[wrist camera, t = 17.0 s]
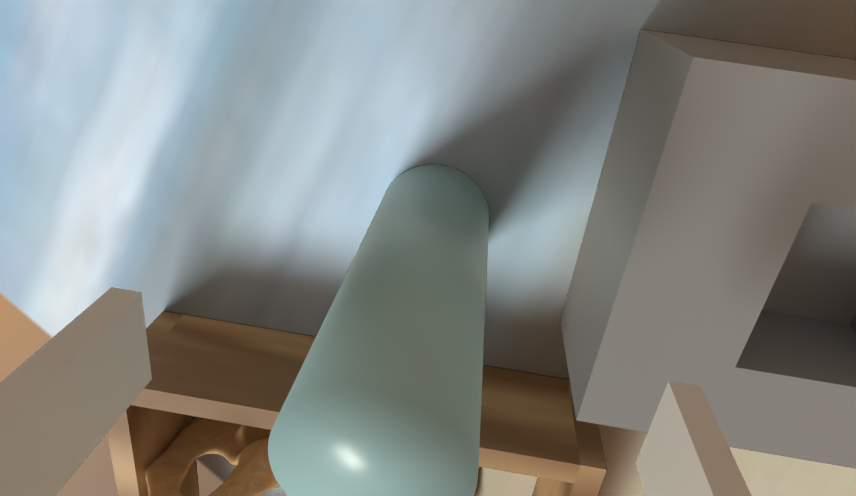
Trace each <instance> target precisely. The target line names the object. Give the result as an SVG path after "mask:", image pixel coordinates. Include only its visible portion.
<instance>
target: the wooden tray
mask: <svg viewBox="0 0 856 496" xmlns="http://www.w3.org/2000/svg"><path fill="white" fill-rule="evenodd" d="M146 335H147V343H148V351H149V359H150V367H151V375H152V379H151V380H150V382H149V383H148V384H147V385H146V387H145V388H144V389H143V390H142V391H141V393H140V394H139V395H138V396H137V398H136V399H135V400H134V401H133V402H132V404H131V405H130V406H129V407H128V409H127V410H126V411H125V412H124V413H123V415H122V416H121V417H120V418H119V419H118V421H117V422H116V423H115V424H114V426H113V427H112V428H111V429H110V430H109V432H108V433H107V436H108V441H109V447H110V452H111V458H112V463H113V469H114V474H115V480H116V486H117V492H118V496H148V495H149V493H148V486H147V482H146V478H145V477H146V471H147V468H148V467H149V466H150V465H151V464H152V463H153V462H154V461H155V460H156V459H157V458H158V457H160V456H161V455H162V454H163V453H164V452H165V451H166V450H167V449H168V447H169V446H170V445H171V443H172V442H173V441H174V439H175V438H176V437H177V436H178V435H179V434H180V432H181V431H182V430H183V429H184V428H185V427H186V426H187V425H189V424H190V423H191V422H193V416H196V417H201V418H207V419H213V420H218V421H224V422H230V423H235V424H241V425H247V426H252V427H258V428H264V429H269V430H271V429H272V427H273V425H274V423H275V421H276V419H277V417H278V415H279V413H280V411H281V409H282V406H283V404H284V402H285V400H286V398H287V396H288V394H289V392H290V390H291V388H292V386H293V384H294V382H295V380H296V377H297V375H298V373H299V371H300V369H301V367H302V365H303V363H304V361H305V359H306V357H307V355H308V353H309V350H310V348H311V346H312V344H313V342H314V340H315V338H316V337H313V336H307V335H301V334H296V333H290V332H284V331H278V330H272V329H266V328H260V327H254V326H248V325H242V324H236V323H231V322H225V321H219V320H213V319H207V318H201V317H195V316H189V315H183V314H177V313H172V312H166V311H163V312H162V313H161V314H160V315H159V316H158V317H157V318H156V319H155V320H154V321H153V322H152V323H151V325H150V326H149V327H148V328H147V329H146ZM479 467H484V468H490V469H495V470H501V471H507V472H512V473H518V474H524V475H529V476H535V477H538V478H537V482H536V485H535V489H534V492H533V495H532V496H597V495H598V493H599V490H600V487H601V485H602V482H603V479H604V476H605V474H606V471H607V467H606V462H605V458H604V453H603V448H602V443H601V438H600V433H599V429H598V424H594V423H588V422H583V421H577V420H576V415H575V409H574V403H573V397H572V391H571V385H570V380H567V379H561V378H555V377H550V376H544V375H538V374H532V373H526V372H520V371H514V370H508V369H502V368H496V367H490V366H485V365H483V374H482V397H481V421H480V444H479ZM179 491H180V493H181V495H182V496H199V487H198V475H197V463H196V460H195V461H194V462H193V463H192V465H191V466H190V468H189V470H188V473H187V474H186V476H185V477H184V479H183V481H182V482H181V485H180V488H179Z"/></svg>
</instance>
